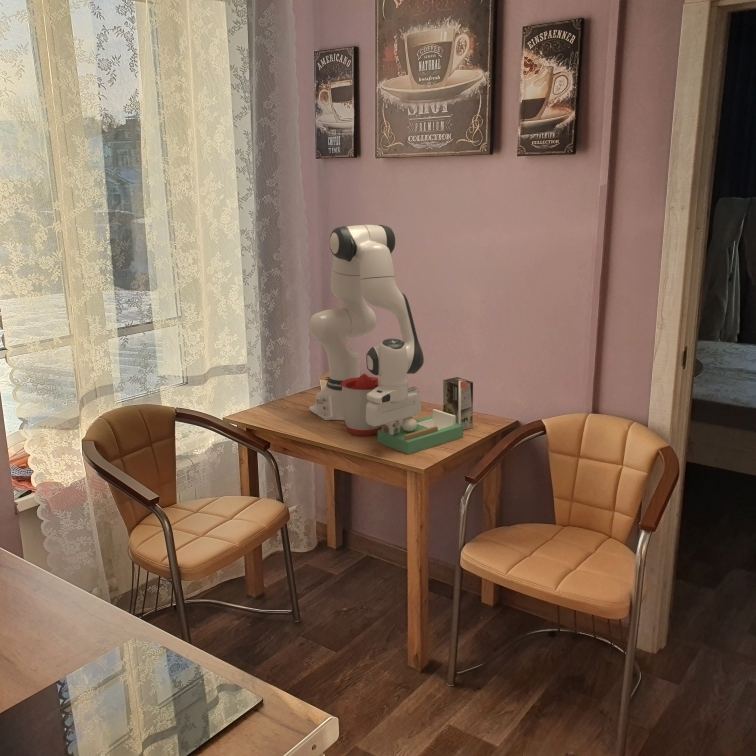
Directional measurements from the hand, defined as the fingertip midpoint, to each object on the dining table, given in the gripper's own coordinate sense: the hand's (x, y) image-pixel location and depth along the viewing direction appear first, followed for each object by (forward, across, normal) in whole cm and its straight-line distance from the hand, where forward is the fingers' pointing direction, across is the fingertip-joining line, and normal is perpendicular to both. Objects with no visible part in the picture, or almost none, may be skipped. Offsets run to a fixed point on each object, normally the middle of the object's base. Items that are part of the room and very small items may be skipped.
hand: (394, 433), depth 246 cm
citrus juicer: (+5, -4, -19) cm, 20 cm away
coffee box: (+5, -30, -2) cm, 31 cm away
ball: (+1, -6, 0) cm, 6 cm away
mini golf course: (+5, -11, 0) cm, 12 cm away
